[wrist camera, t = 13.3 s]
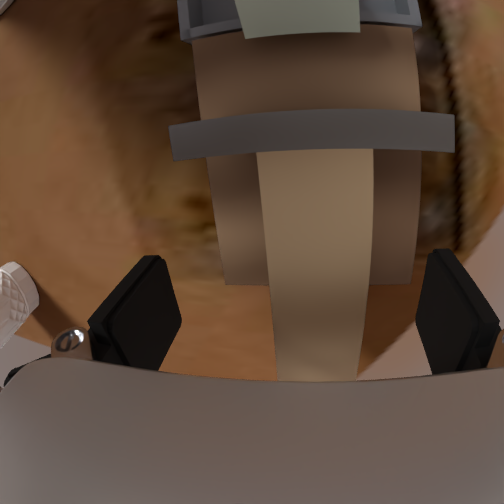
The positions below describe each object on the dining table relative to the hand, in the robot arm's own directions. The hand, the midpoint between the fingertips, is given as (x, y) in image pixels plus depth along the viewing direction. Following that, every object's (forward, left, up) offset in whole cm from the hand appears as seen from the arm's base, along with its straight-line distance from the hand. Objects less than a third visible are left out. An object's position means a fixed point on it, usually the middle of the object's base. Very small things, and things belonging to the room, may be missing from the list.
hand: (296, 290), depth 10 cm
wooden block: (-3, +1, -10) cm, 11 cm away
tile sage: (-11, +1, -7) cm, 13 cm away
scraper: (+1, +1, -6) cm, 7 cm away
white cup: (+8, -33, -11) cm, 36 cm away
